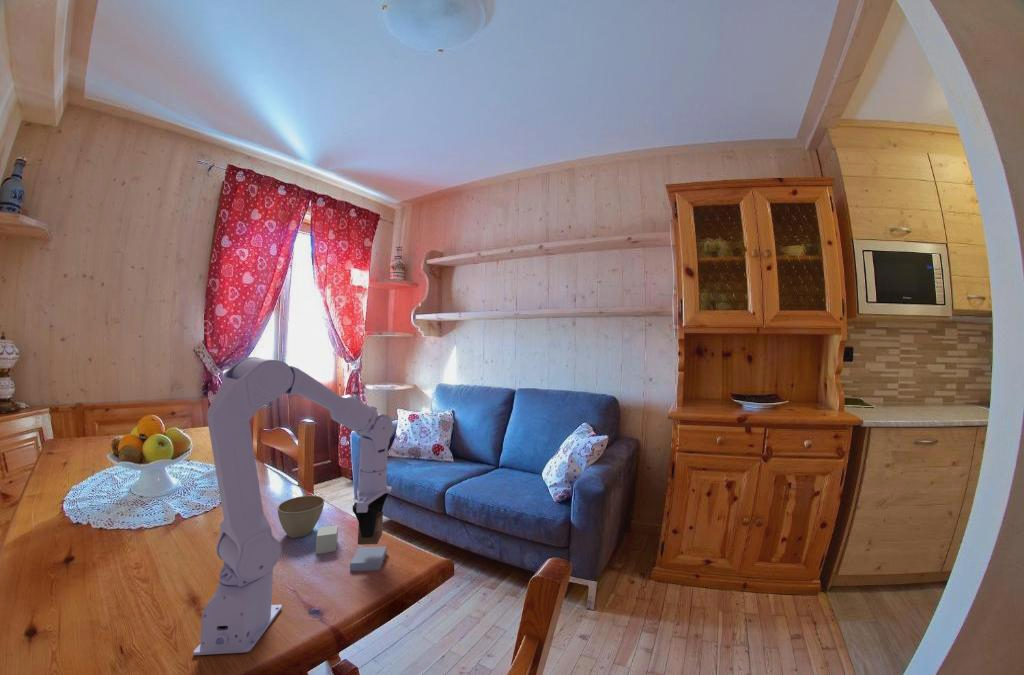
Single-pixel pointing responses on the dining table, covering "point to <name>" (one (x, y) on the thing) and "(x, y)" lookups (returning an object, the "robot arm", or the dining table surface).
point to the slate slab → (368, 558)
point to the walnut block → (376, 534)
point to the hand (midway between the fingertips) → (370, 531)
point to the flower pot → (300, 515)
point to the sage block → (327, 539)
